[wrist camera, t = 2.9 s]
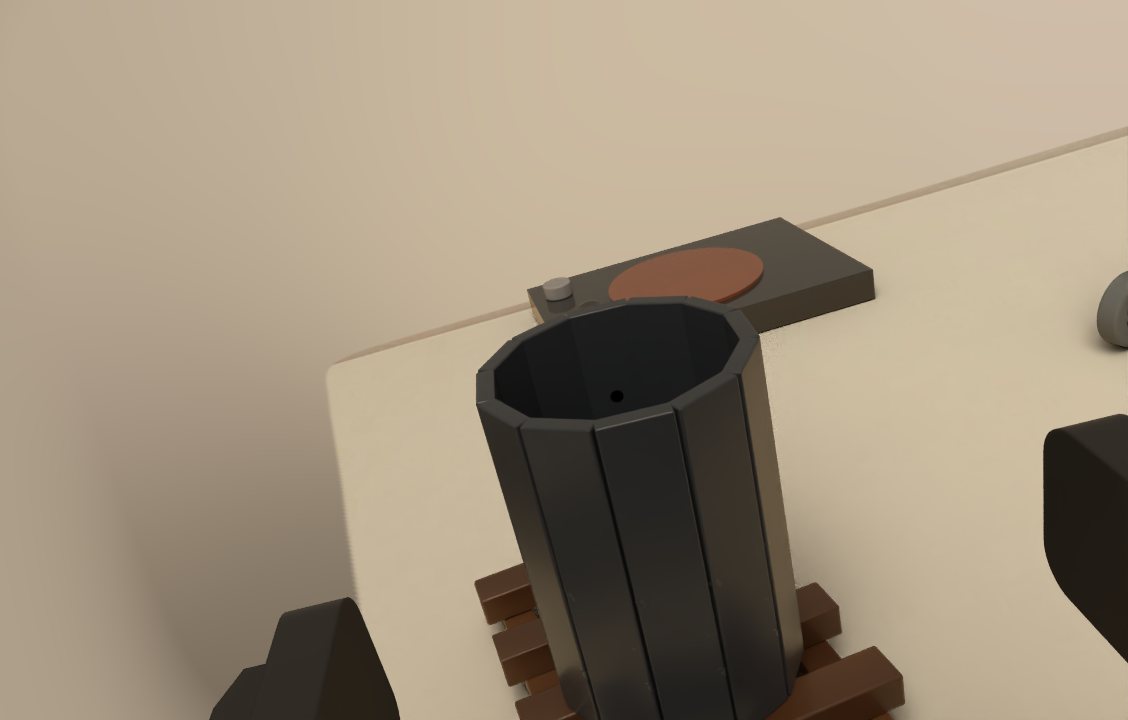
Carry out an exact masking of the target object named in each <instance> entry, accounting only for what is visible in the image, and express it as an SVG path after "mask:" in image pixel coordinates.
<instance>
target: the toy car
mask: <svg viewBox="0 0 1128 720" xmlns="http://www.w3.org/2000/svg"><path fill="white" fill-rule="evenodd" d="M1097 328H1098V331H1099V334H1100V336H1101V337H1102V338H1103V339H1104V340H1105V341H1107V342H1109V343H1113V344H1116V345H1120V346H1123V347H1128V271H1126V272H1124V273H1122V274H1120V275H1119V276H1118V277H1116V278H1115V279H1114V280H1113V281H1112V282H1111V284H1110V285H1109V286H1108V288H1107V289H1106V291H1105V293H1104V295H1103V297H1102V299H1101V301H1100V304H1099V308H1098V313H1097Z"/></svg>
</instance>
